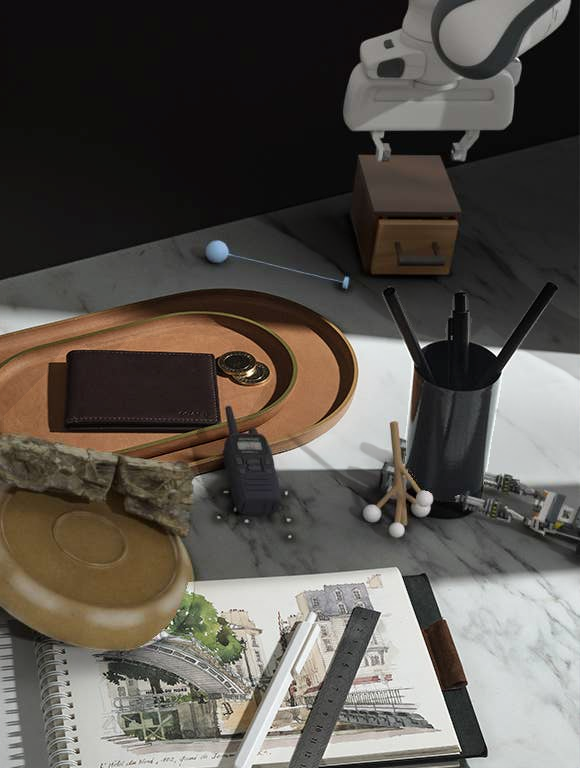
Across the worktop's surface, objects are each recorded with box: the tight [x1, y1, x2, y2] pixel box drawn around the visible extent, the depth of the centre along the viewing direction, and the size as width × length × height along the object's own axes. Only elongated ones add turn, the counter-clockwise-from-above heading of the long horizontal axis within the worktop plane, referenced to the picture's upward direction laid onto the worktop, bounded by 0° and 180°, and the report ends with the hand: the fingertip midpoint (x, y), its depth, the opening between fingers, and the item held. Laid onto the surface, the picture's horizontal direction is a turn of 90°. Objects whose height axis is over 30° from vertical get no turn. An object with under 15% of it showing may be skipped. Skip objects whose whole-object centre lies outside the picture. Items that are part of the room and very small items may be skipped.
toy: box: [378, 437, 580, 557], centre depth 136 cm, size 8×7×30 cm
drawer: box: [371, 216, 459, 276], centre depth 173 cm, size 19×10×8 cm, turn 0°
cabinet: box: [349, 154, 463, 274], centre depth 177 cm, size 16×12×10 cm
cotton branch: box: [362, 420, 434, 539], centre depth 136 cm, size 7×6×12 cm
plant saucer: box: [0, 481, 195, 652], centre depth 127 cm, size 24×24×3 cm
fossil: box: [0, 433, 196, 539], centre depth 128 cm, size 22×7×10 cm
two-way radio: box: [222, 405, 282, 516], centre depth 142 cm, size 6×4×15 cm
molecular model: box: [205, 239, 350, 290], centre depth 173 cm, size 3×20×3 cm, turn 68°
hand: (419, 159), depth 159 cm, fingers open, 8 cm apart
